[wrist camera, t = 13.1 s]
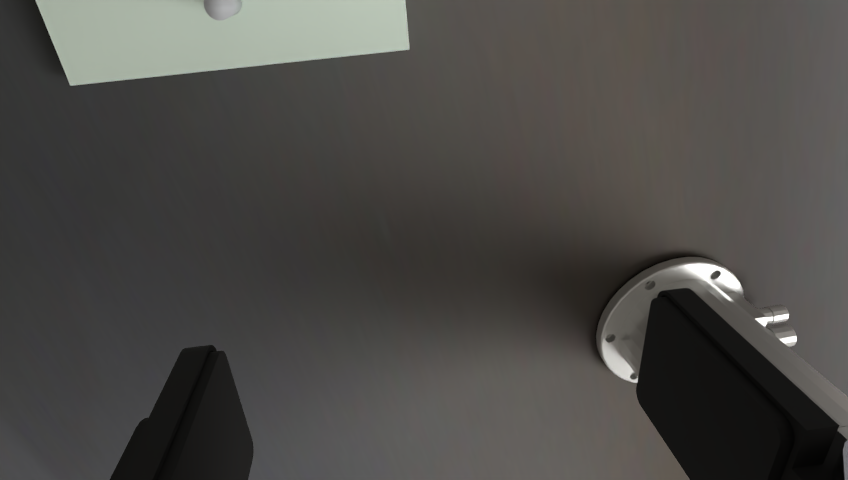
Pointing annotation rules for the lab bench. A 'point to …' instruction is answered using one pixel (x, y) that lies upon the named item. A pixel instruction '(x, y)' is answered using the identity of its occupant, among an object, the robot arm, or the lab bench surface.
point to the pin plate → (213, 34)
